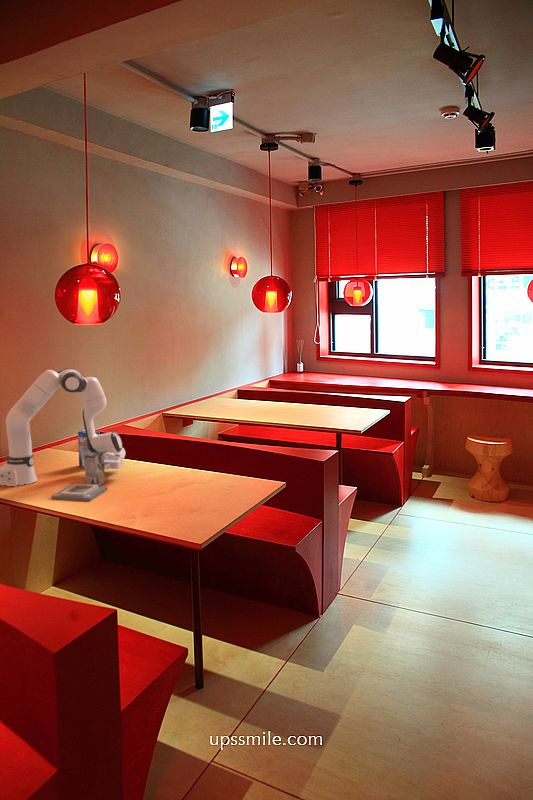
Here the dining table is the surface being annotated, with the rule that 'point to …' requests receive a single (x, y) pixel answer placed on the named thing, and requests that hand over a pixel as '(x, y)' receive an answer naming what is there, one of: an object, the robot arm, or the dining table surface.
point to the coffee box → (94, 468)
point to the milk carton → (83, 446)
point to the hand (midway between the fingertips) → (95, 467)
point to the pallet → (80, 492)
